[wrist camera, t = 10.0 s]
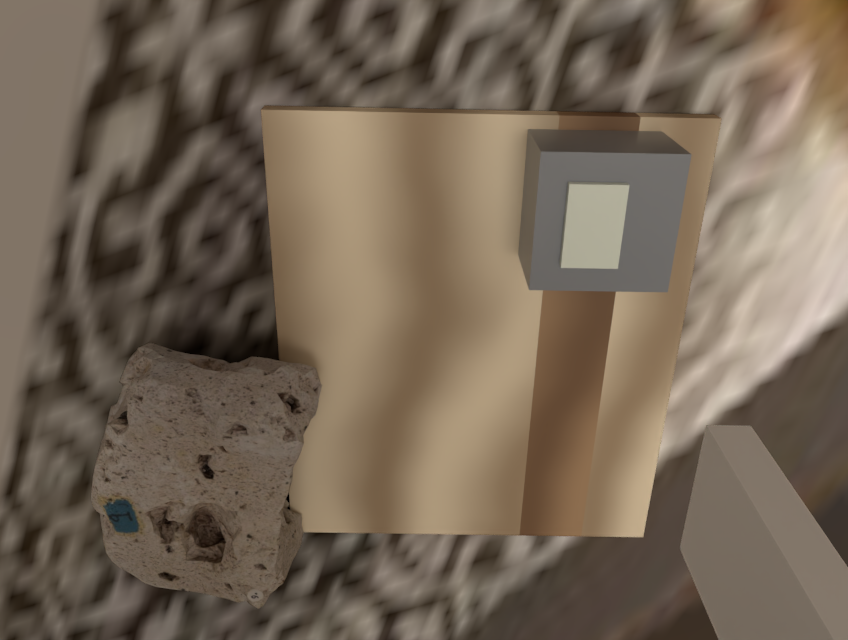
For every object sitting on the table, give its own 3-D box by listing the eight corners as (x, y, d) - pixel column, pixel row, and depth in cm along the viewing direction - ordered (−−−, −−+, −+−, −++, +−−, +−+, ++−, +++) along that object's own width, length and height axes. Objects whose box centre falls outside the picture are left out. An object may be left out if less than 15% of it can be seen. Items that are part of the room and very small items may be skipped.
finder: (518, 254, 31) (529, 293, 27) (527, 129, 28) (542, 153, 25) (642, 256, 31) (670, 295, 27) (661, 131, 28) (694, 156, 25)
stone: (270, 638, 35) (53, 579, 34) (296, 535, 40) (106, 478, 38) (360, 468, 28) (83, 379, 26) (380, 363, 32) (145, 282, 30)
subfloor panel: (294, 520, 38) (291, 531, 37) (264, 105, 29) (261, 109, 28) (638, 526, 38) (643, 537, 37) (714, 114, 29) (721, 118, 28)
